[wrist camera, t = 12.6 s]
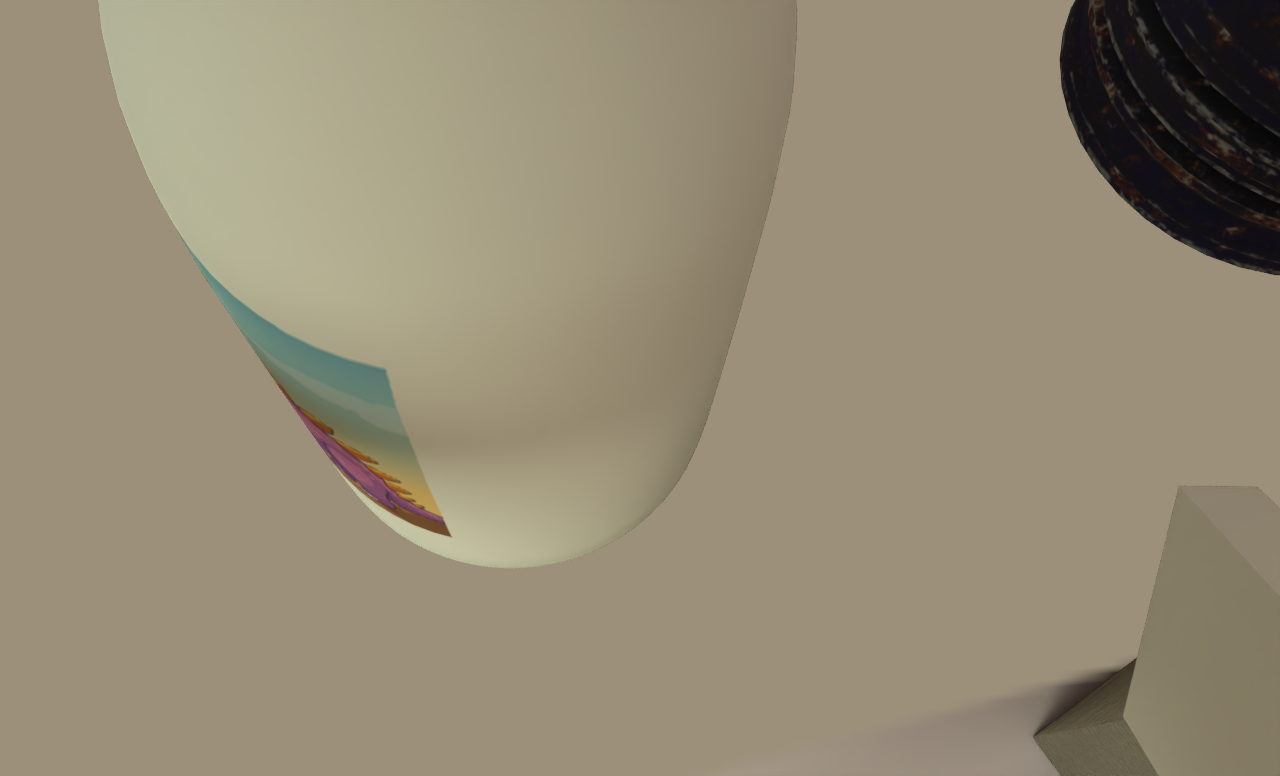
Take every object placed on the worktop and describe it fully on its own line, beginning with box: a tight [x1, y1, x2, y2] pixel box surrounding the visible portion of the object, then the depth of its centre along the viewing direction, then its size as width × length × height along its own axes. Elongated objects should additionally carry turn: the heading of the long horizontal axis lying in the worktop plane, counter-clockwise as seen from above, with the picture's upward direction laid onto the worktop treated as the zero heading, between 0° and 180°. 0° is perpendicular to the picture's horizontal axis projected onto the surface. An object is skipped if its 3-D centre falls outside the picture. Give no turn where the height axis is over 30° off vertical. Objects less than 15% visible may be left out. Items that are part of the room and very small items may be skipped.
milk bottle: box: [98, 0, 797, 568], centre depth 15 cm, size 8×8×20 cm
